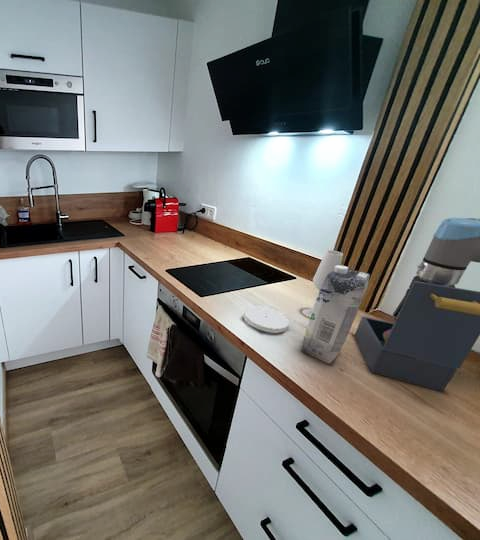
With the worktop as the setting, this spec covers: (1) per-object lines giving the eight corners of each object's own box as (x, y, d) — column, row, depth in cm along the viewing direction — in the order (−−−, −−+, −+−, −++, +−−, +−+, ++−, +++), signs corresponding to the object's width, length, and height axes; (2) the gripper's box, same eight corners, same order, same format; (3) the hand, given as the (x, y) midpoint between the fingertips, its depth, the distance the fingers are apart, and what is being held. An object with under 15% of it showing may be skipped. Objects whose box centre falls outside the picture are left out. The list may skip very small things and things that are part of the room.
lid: (413, 280, 68) (426, 290, 62) (500, 295, 62) (522, 307, 57) (382, 348, 75) (390, 362, 69) (457, 366, 69) (473, 383, 64)
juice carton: (341, 351, 85) (376, 268, 74) (332, 368, 78) (369, 280, 68) (307, 337, 91) (335, 259, 80) (297, 352, 84) (325, 268, 73)
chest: (354, 335, 93) (362, 316, 90) (412, 348, 87) (422, 329, 84) (371, 372, 77) (381, 350, 75) (442, 391, 72) (457, 369, 69)
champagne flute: (326, 320, 101) (350, 257, 91) (305, 317, 102) (327, 254, 92) (319, 310, 107) (341, 250, 97) (299, 308, 108) (319, 248, 98)
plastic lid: (234, 314, 102) (235, 308, 101) (266, 310, 106) (268, 304, 105) (261, 338, 90) (263, 331, 89) (297, 332, 94) (299, 325, 93)
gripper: (399, 263, 82) (370, 328, 91) (435, 294, 65) (394, 371, 74) (434, 268, 79) (399, 334, 89) (481, 302, 62) (432, 381, 71)
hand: (397, 351), depth 81 cm, fingers closed on cupcake, 9 cm apart
